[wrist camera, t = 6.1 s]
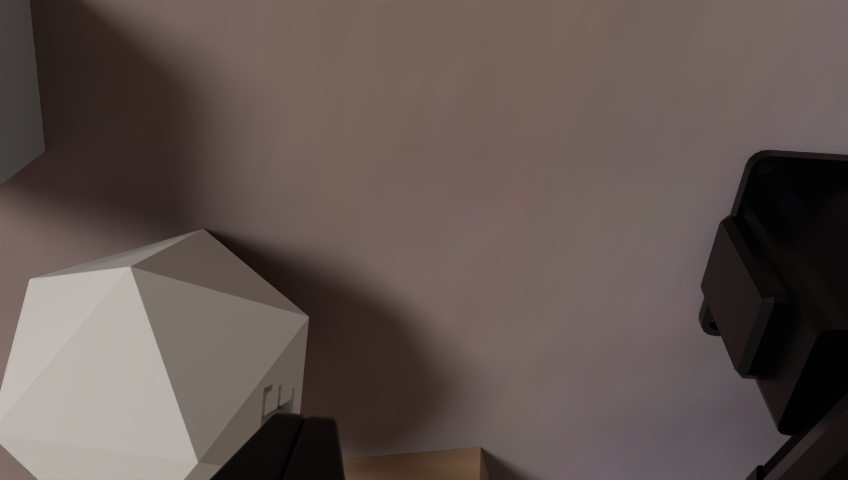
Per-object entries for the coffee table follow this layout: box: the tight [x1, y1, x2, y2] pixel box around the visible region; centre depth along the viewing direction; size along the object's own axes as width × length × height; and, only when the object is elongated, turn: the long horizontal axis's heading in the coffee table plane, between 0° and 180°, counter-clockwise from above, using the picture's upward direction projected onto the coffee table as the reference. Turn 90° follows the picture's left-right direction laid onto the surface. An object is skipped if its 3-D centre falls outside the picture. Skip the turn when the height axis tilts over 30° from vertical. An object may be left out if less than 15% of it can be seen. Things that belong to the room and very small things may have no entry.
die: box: [0, 229, 309, 480], centre depth 21 cm, size 8×9×10 cm
